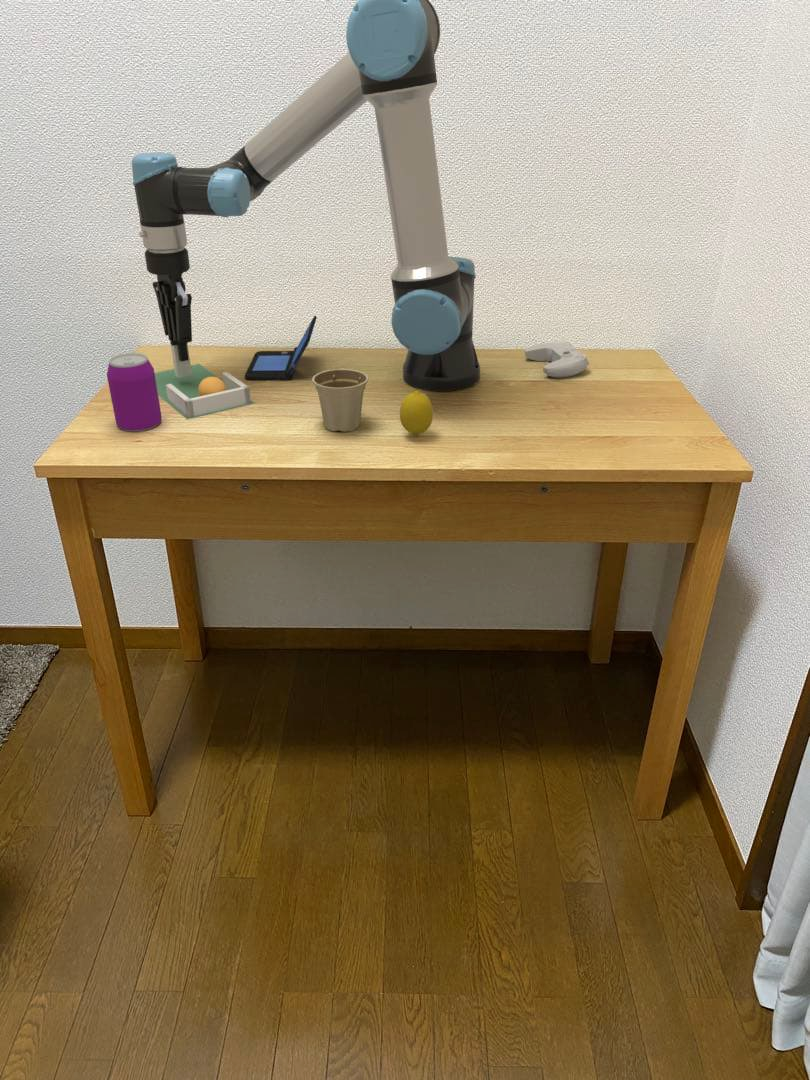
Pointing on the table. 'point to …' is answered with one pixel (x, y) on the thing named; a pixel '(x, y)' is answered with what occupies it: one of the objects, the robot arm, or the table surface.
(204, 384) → the orange ball
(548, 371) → the game controller
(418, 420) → the lemon
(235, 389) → the white u-shaped frame
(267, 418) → the table surface
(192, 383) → the putting mat
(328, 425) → the flower pot
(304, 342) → the handheld game console
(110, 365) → the beverage can
